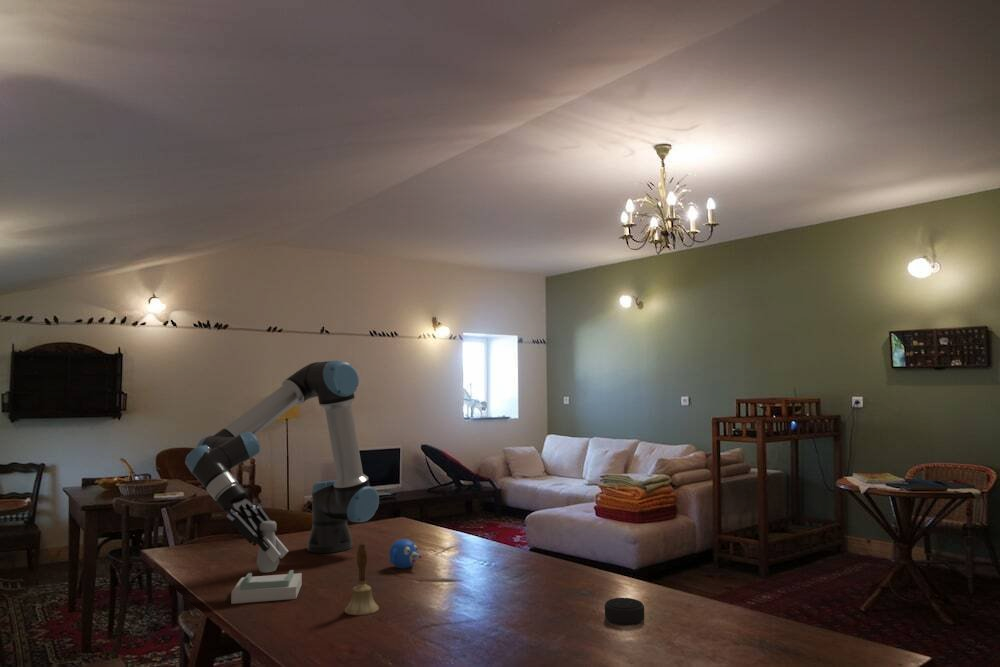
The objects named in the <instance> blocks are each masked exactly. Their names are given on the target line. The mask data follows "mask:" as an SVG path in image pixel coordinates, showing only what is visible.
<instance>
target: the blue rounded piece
mask: <svg viewBox="0 0 1000 667" xmlns="http://www.w3.org/2000/svg"><path fill="white" fill-rule="evenodd" d="M389 548H390V549H389V552H388V554H389V557H388V558H389V563H391V564H392V565H393V566H394V567H395V568H398V569H407V568H410V567H412V566H413V565H414V564H415V563H416V562H417V561H418V560H419V559H422V558H423V555H422V554H420V553H419V548H418V546H417V545H416V543H415V542H414V541H412V540H411V539H407V538H402V539H398V540H396V541H394V543H392V545H391V546H390V547H389Z"/></svg>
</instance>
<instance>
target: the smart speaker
mask: <svg viewBox="0 0 1000 667" xmlns="http://www.w3.org/2000/svg"><path fill="white" fill-rule="evenodd" d="M604 617H605V620H606V621H607V622H609V623H611V624H614V625H618V626H626V627H627V626H636V625H638V624H642V622H643V621H644V620H645V617H646V616H645V605H644V604H643V602H642V601H640V600H639V599H634V598H632V597H631V598H630V597H615V598H610V599H608V600H607V601H606V602H605V603H604Z"/></svg>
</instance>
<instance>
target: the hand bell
mask: <svg viewBox="0 0 1000 667" xmlns="http://www.w3.org/2000/svg"><path fill="white" fill-rule="evenodd" d="M356 563H357V567H358V582H357V583H358V584H357V585H356V586H353V588H352V594H351V599H350V601H349V603H348V604H347V606H346V607H345V608H344V613H345V614H347V615H350V616H366V615H367V616H368V615H371V614H375V613H377V612H379V610H380V606H379V605H378V604H377V603H376V602H375V600H374V597H373V592H372V587H371V585H368V584H367V583H366V580H367V579H366V568H367V563H368V551H367V548H366V544H365V543H364V542H361V543H359V545H358V550H357V552H356Z"/></svg>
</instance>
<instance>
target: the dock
mask: <svg viewBox="0 0 1000 667" xmlns="http://www.w3.org/2000/svg"><path fill="white" fill-rule="evenodd" d="M294 570H295V569H290V570H289V571H288V573H287V574H285V573H283V574H272V575H269V574H268V575H261V576H260V575H258V576H257V575H255V576H253V573H252V572H248V573H247V574H246V576H245V577H244V576H243V577H241V578H240V579H239V581H238V582H237V583H236V585H235V586H234V587H233V589H232V590H231V592H230V594H231V595H230V596H231V597H230V598H231V599H230V600H231V602H230V603H231V604H245V603H247V604H248V603H258V602H259V603H260V602H270V601H284V600H285V601H286V600H295V599H297V597H298V595H299V592H300V590H301V587H302V582H303V579H302V577H303V574H302V572H299V573H294V572H295V571H294Z"/></svg>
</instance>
